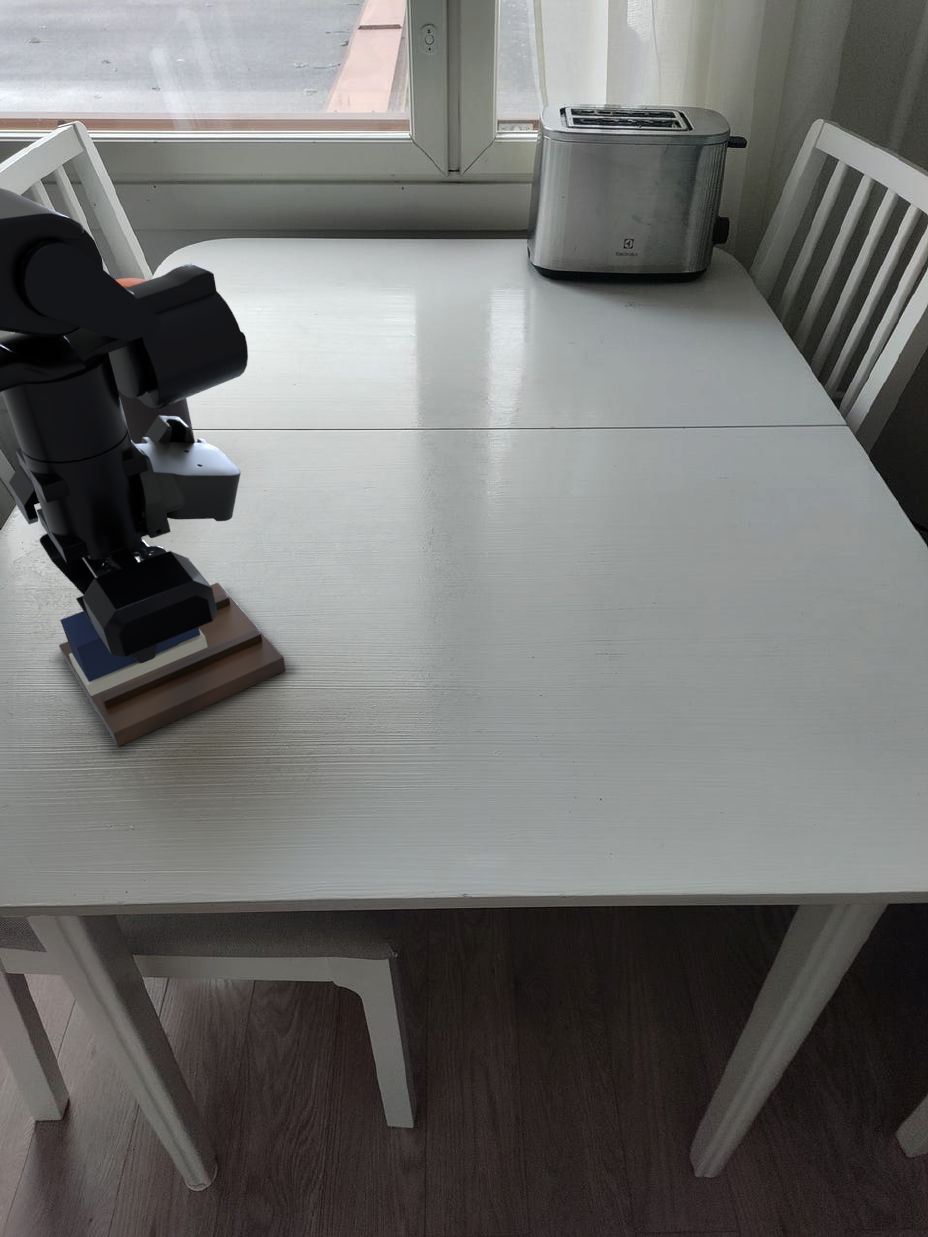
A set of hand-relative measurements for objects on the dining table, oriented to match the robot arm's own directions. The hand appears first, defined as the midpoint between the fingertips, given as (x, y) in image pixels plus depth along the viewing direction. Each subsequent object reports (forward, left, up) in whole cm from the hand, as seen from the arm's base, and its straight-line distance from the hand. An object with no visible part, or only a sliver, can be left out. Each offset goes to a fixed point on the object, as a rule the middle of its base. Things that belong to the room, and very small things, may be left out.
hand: (137, 644), depth 63 cm
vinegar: (+15, +36, -11) cm, 41 cm away
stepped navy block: (0, 0, -1) cm, 1 cm away
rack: (+4, +9, -11) cm, 15 cm away
